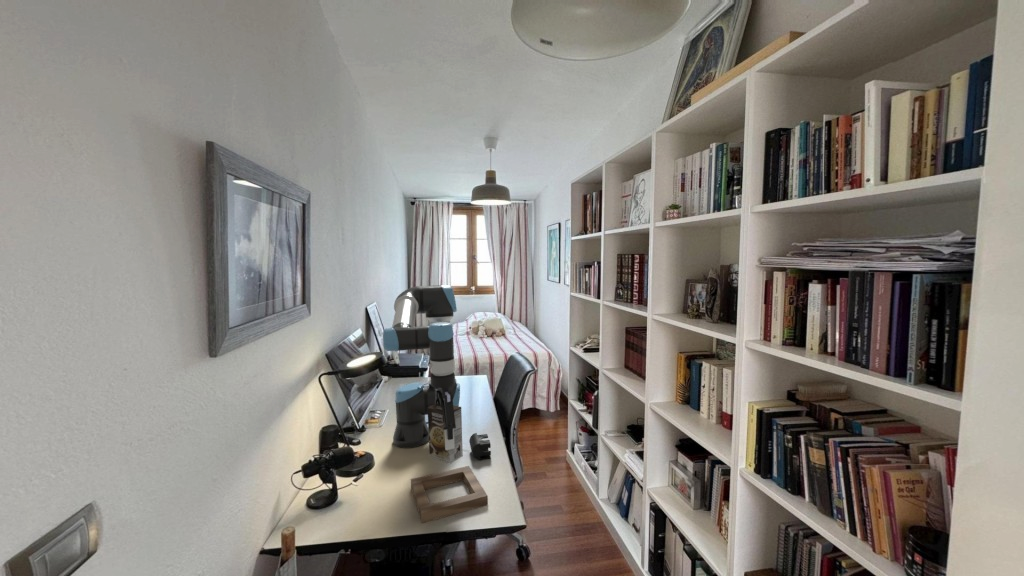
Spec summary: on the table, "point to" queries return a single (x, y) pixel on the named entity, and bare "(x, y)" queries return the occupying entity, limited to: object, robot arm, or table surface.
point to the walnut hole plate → (453, 505)
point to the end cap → (480, 446)
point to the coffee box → (438, 434)
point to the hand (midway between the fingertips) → (445, 441)
